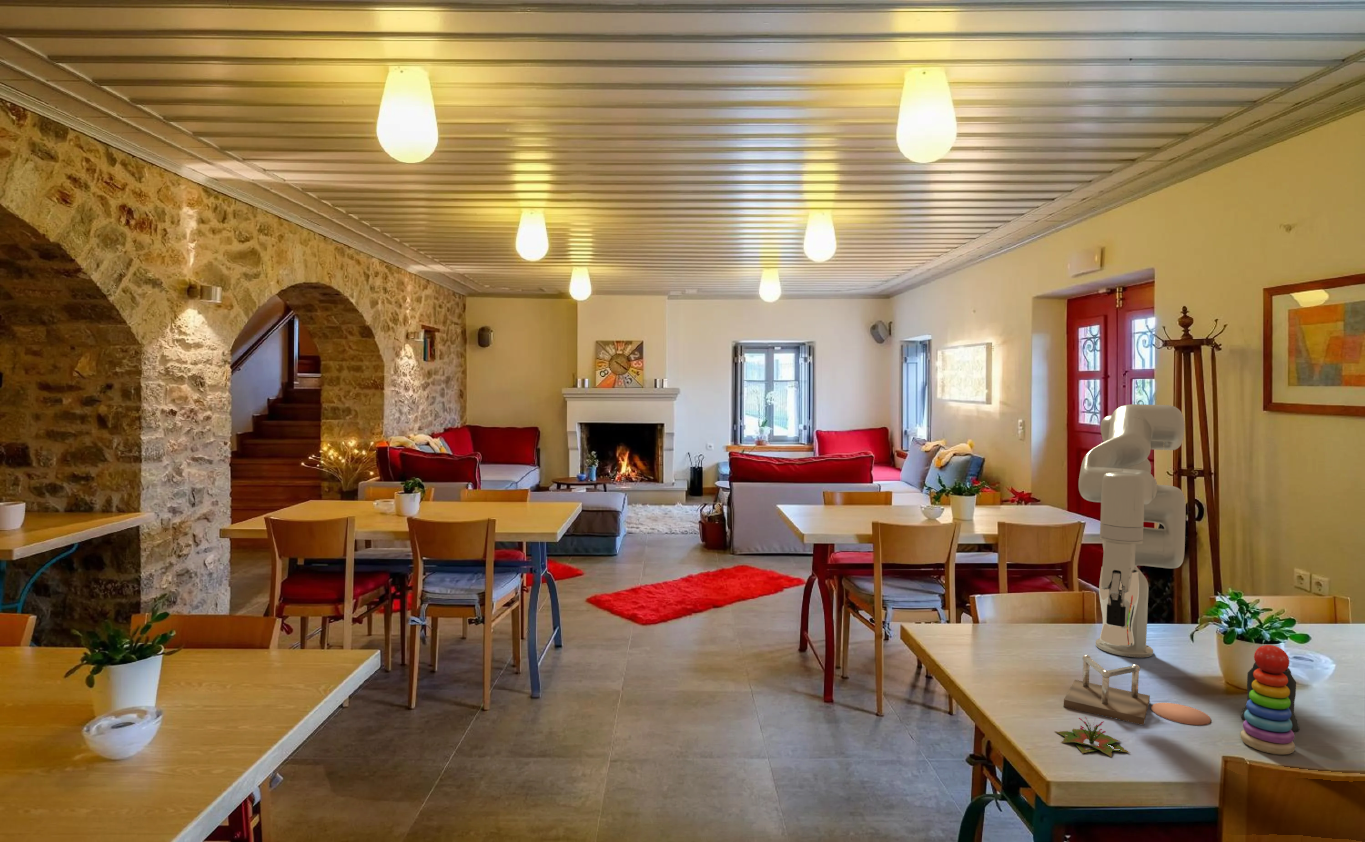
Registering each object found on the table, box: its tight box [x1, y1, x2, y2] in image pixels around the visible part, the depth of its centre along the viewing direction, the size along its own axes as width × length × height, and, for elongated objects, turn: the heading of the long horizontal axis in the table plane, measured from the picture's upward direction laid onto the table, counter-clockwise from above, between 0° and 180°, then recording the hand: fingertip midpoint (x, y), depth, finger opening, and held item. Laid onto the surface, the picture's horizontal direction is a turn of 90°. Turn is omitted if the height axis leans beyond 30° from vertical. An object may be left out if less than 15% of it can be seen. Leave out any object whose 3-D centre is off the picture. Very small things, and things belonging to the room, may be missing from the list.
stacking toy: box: [1239, 644, 1296, 756], centre depth 137 cm, size 8×8×19 cm
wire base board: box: [1063, 679, 1151, 726], centre depth 155 cm, size 14×14×2 cm
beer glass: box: [1098, 565, 1139, 647], centre depth 153 cm, size 7×7×15 cm
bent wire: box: [1082, 654, 1141, 705], centre depth 155 cm, size 10×11×7 cm
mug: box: [1240, 662, 1300, 734], centre depth 149 cm, size 12×9×11 cm
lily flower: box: [1054, 716, 1131, 758], centre depth 137 cm, size 12×12×5 cm
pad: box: [1150, 702, 1211, 726], centre depth 151 cm, size 10×10×1 cm
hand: (1117, 620), depth 153 cm, fingers closed on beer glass, 6 cm apart
